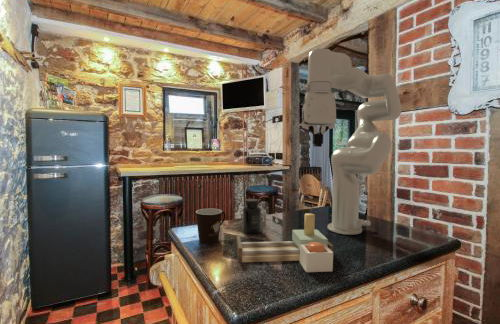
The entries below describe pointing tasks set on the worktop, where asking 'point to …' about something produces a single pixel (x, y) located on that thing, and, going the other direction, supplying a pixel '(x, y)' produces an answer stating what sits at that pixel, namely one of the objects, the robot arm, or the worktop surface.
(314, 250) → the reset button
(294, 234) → the block
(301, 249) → the white open box
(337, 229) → the robot arm
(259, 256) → the track
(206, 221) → the coffee mug
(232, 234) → the worktop surface
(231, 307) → the worktop surface
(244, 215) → the supplement bottle
